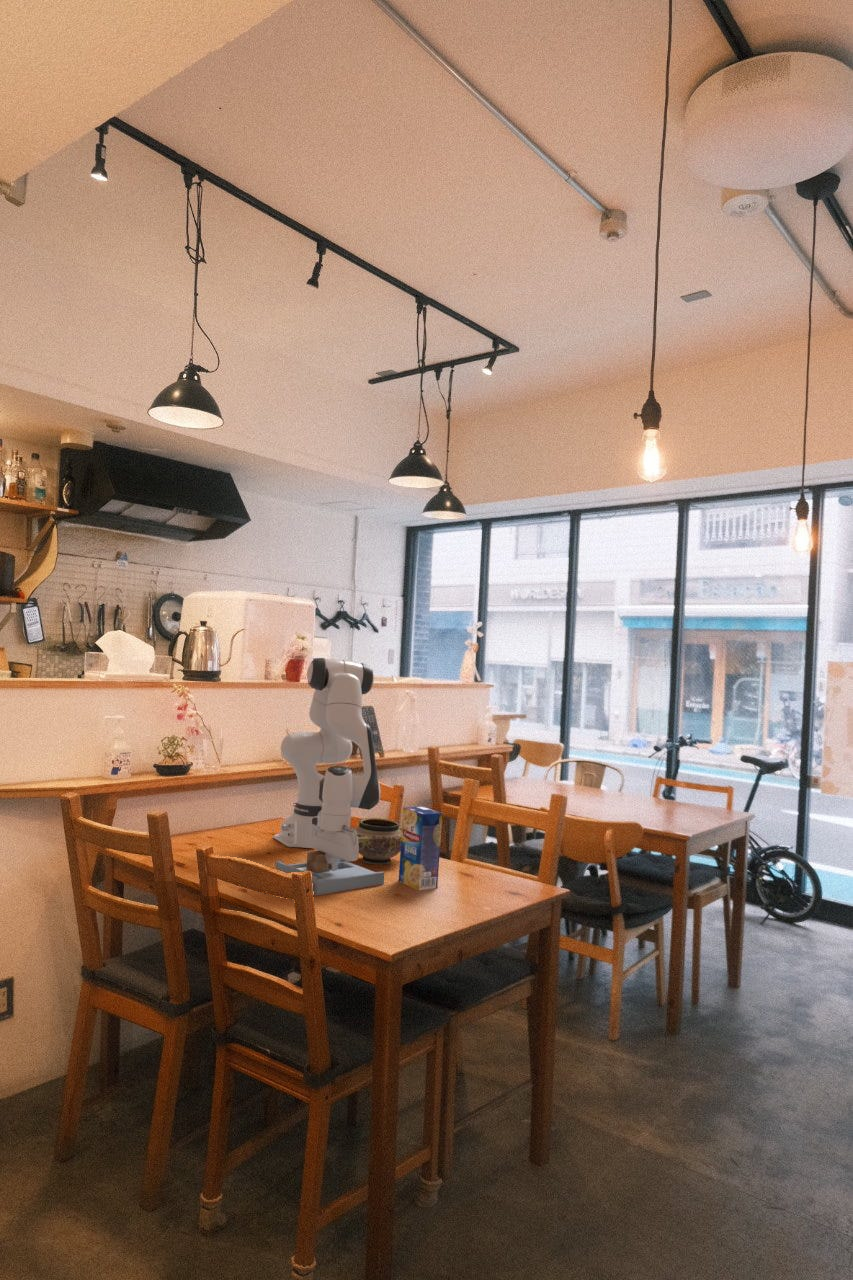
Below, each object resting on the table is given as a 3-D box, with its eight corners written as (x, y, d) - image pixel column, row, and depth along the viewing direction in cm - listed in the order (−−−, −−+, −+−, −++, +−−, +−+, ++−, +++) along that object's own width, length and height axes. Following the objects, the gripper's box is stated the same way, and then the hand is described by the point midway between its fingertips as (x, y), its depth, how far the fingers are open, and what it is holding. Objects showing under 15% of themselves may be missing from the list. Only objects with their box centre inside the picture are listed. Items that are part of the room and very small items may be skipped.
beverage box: (417, 878, 254) (422, 806, 254) (437, 888, 245) (442, 813, 245) (398, 880, 250) (403, 807, 250) (418, 890, 241) (423, 814, 241)
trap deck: (274, 878, 243) (275, 861, 243) (343, 868, 260) (344, 852, 260) (313, 895, 228) (314, 877, 229) (383, 884, 245) (384, 867, 245)
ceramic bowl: (357, 879, 259) (368, 835, 256) (327, 852, 272) (337, 810, 269) (417, 870, 275) (427, 828, 272) (385, 845, 288) (395, 805, 285)
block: (306, 869, 246) (307, 852, 247) (319, 867, 250) (320, 850, 250) (316, 872, 243) (317, 855, 243) (330, 870, 246) (331, 853, 247)
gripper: (365, 828, 238) (362, 876, 238) (324, 815, 254) (321, 860, 253) (347, 830, 234) (344, 879, 234) (307, 817, 249) (303, 863, 249)
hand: (332, 869), depth 244 cm, fingers closed
